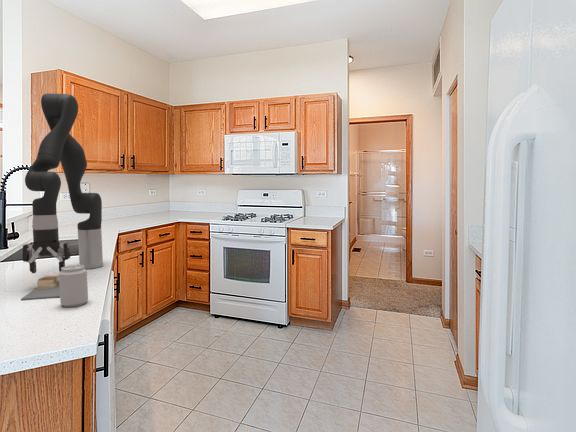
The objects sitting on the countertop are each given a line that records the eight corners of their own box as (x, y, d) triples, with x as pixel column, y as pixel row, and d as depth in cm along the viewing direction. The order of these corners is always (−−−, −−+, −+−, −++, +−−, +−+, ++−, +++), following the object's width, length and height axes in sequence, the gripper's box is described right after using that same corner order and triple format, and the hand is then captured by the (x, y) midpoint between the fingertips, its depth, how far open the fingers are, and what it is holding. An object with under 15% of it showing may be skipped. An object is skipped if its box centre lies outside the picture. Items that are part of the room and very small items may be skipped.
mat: (44, 283, 133) (44, 281, 133) (85, 280, 137) (85, 279, 137) (21, 300, 114) (20, 298, 114) (70, 296, 118) (69, 295, 118)
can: (56, 308, 107) (54, 270, 106) (65, 300, 114) (63, 264, 113) (84, 306, 109) (82, 268, 108) (91, 298, 116) (89, 263, 115)
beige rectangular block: (46, 283, 132) (45, 274, 131) (60, 282, 133) (59, 273, 133) (37, 289, 124) (36, 280, 124) (52, 288, 125) (51, 279, 125)
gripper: (71, 225, 132) (73, 268, 133) (26, 227, 128) (29, 271, 129) (64, 228, 125) (66, 273, 126) (17, 229, 121) (20, 275, 122)
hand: (47, 272), depth 128 cm, fingers open, 8 cm apart
